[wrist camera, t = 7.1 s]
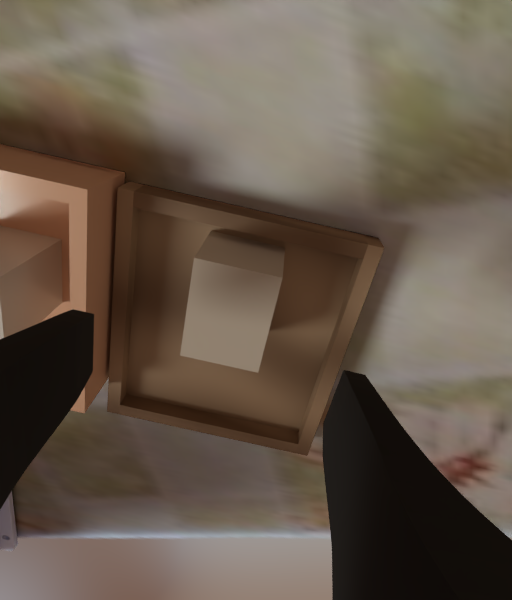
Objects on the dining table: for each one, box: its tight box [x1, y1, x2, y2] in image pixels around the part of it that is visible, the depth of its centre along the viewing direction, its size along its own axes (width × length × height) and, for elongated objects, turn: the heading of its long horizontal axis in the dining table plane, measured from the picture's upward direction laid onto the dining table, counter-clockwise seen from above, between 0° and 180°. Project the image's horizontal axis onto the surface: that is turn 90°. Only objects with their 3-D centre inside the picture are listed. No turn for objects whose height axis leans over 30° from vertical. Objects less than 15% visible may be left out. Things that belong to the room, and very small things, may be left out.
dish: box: [0, 144, 125, 413], centre depth 17 cm, size 10×8×3 cm
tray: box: [107, 181, 384, 455], centre depth 18 cm, size 11×10×1 cm
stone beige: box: [180, 231, 285, 373], centre depth 16 cm, size 4×3×3 cm
